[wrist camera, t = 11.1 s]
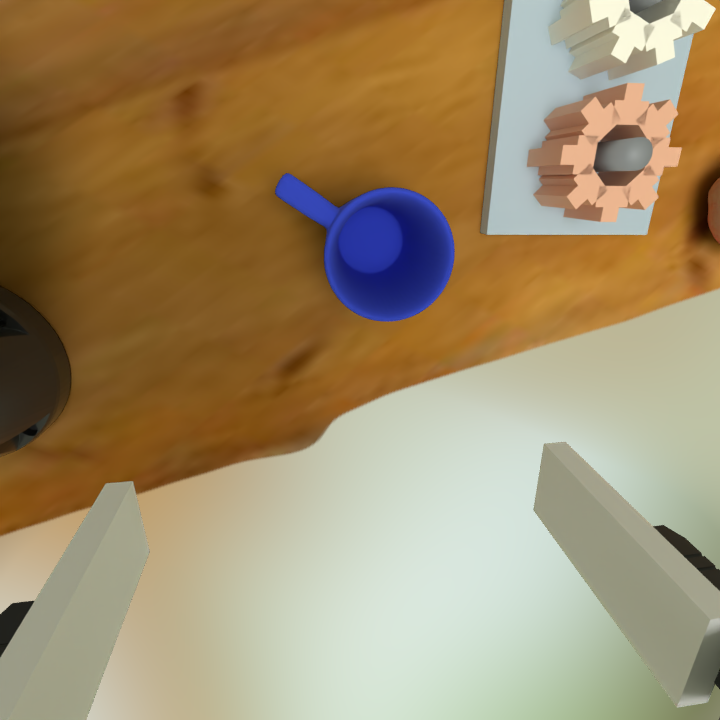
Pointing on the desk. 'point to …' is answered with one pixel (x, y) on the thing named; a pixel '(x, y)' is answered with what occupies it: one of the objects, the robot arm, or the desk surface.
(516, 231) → the gear board
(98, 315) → the desk surface
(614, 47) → the gear
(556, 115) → the loose gear
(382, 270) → the mug
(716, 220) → the fruit
